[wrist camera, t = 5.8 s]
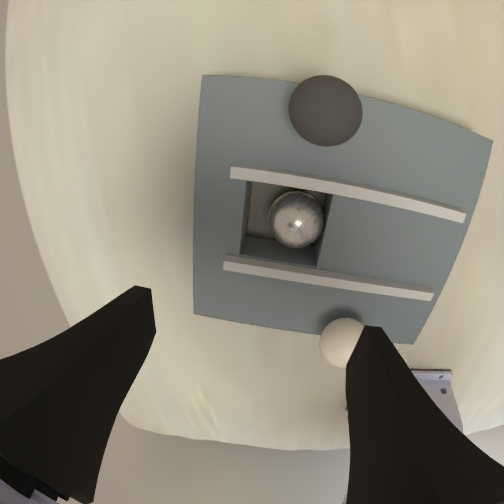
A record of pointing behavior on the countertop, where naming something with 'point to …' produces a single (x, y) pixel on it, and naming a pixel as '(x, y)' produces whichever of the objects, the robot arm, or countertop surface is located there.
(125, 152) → the countertop surface
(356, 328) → the cream ball
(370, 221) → the grey board with rails
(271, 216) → the steel ball
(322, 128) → the dark gray ball
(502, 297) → the countertop surface
